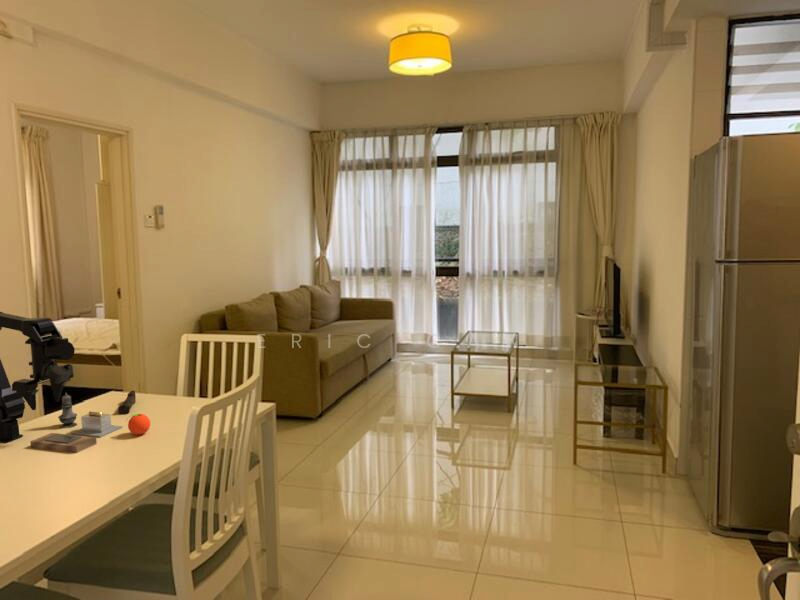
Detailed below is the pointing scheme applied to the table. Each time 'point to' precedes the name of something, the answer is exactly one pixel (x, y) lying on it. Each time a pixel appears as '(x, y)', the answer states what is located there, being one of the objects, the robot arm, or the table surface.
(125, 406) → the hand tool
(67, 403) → the weathered candle holder
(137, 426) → the tomato
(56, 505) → the table surface
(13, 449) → the table surface
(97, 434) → the rubber mat
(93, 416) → the lever cap
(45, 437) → the body
